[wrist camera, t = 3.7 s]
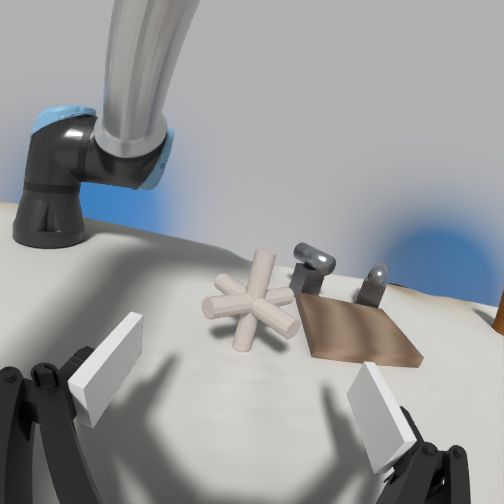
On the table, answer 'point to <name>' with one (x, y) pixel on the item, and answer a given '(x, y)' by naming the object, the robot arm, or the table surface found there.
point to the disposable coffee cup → (500, 317)
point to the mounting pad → (354, 333)
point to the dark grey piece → (373, 286)
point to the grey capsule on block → (310, 269)
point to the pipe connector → (253, 302)
